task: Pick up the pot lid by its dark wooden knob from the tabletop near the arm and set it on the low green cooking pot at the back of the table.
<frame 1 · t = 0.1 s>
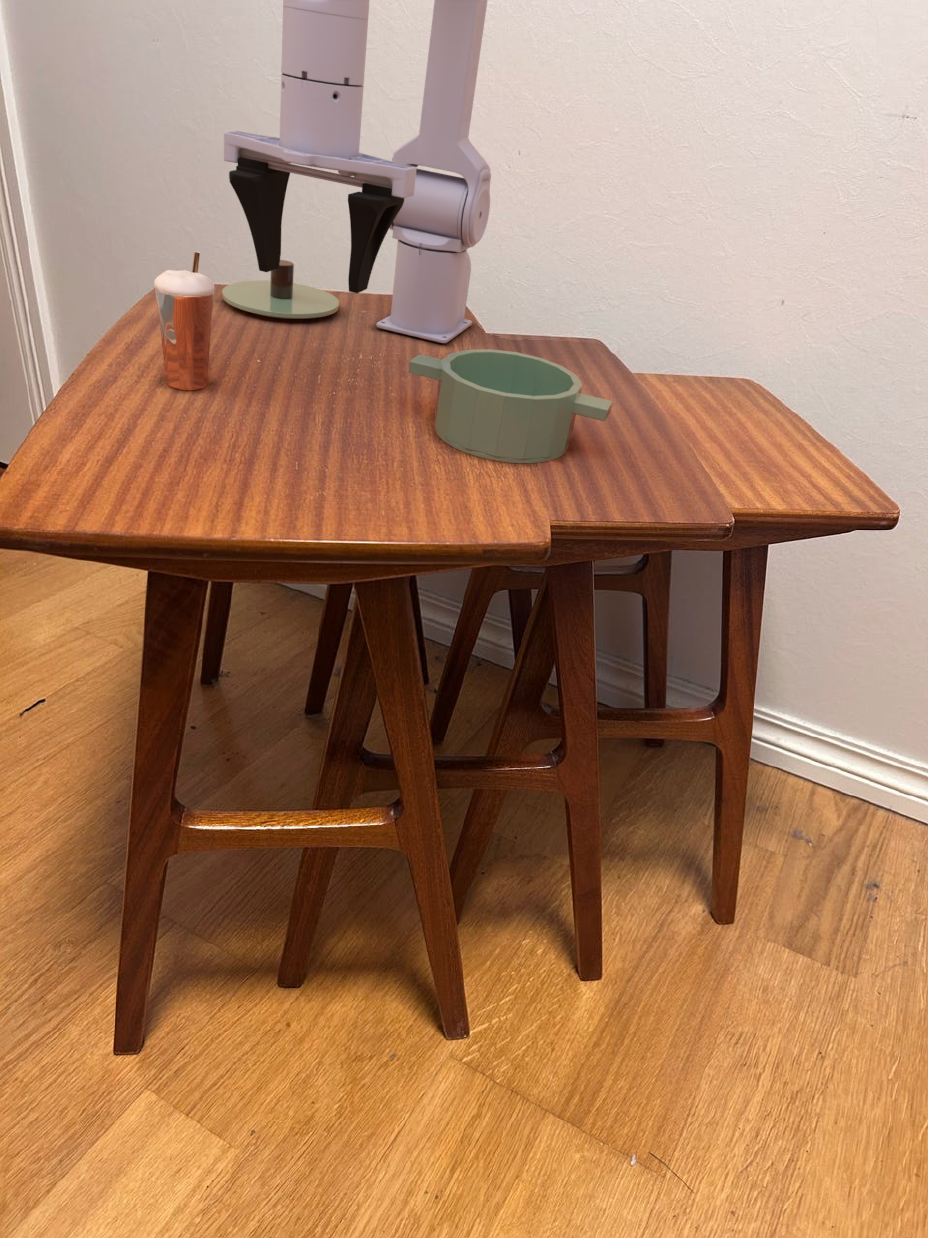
hand: (313, 279, 72), 10 cm above the table, tool pointing down, fingers open, 7 cm apart
green cooking pot: (501, 434, 77), on the table
pot lid: (281, 300, 99), point 1 cm above the table
milkshake: (188, 384, 77), on the table
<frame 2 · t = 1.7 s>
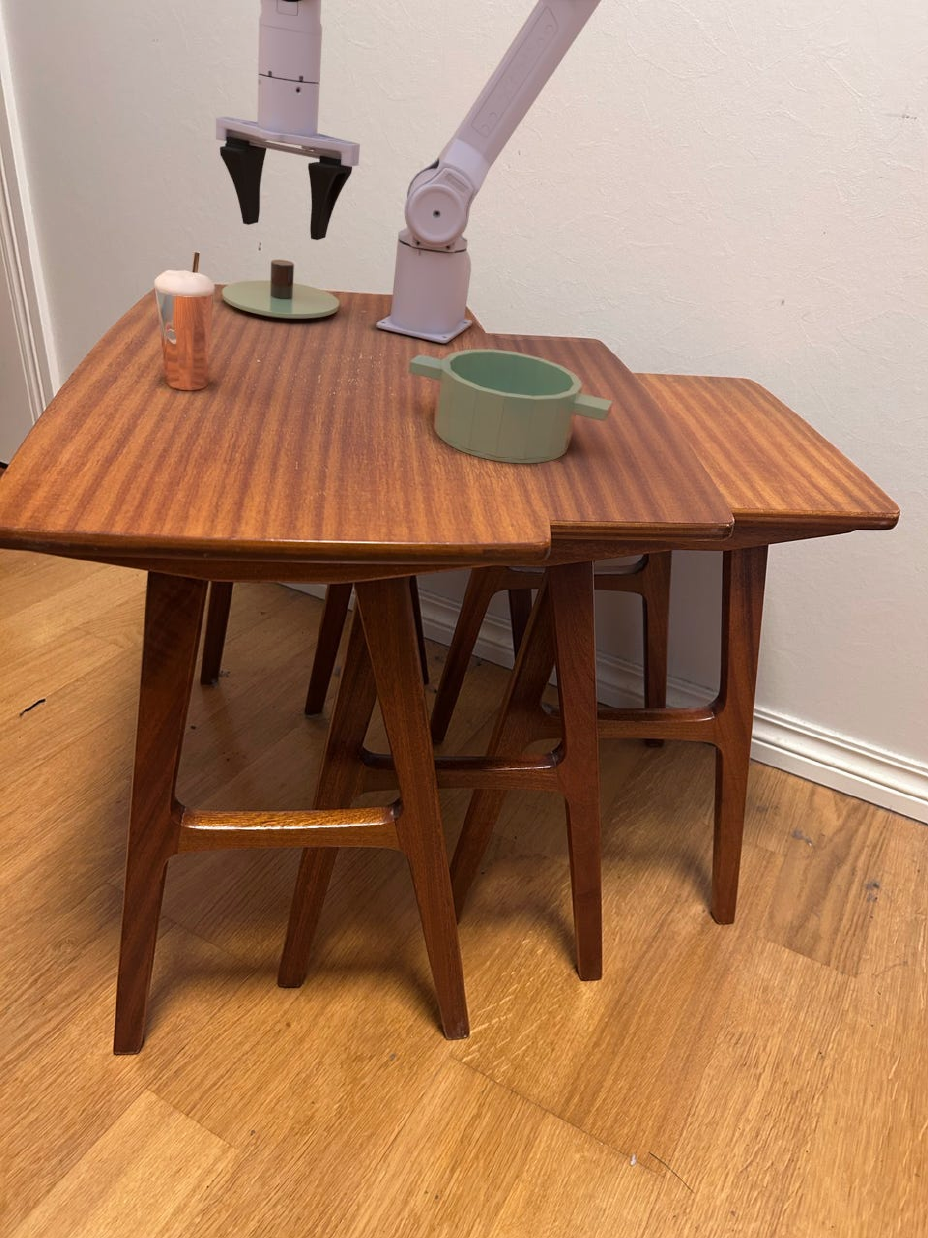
hand: (284, 230, 94), 8 cm above the table, tool pointing down, fingers open, 7 cm apart
nothing on the table moved.
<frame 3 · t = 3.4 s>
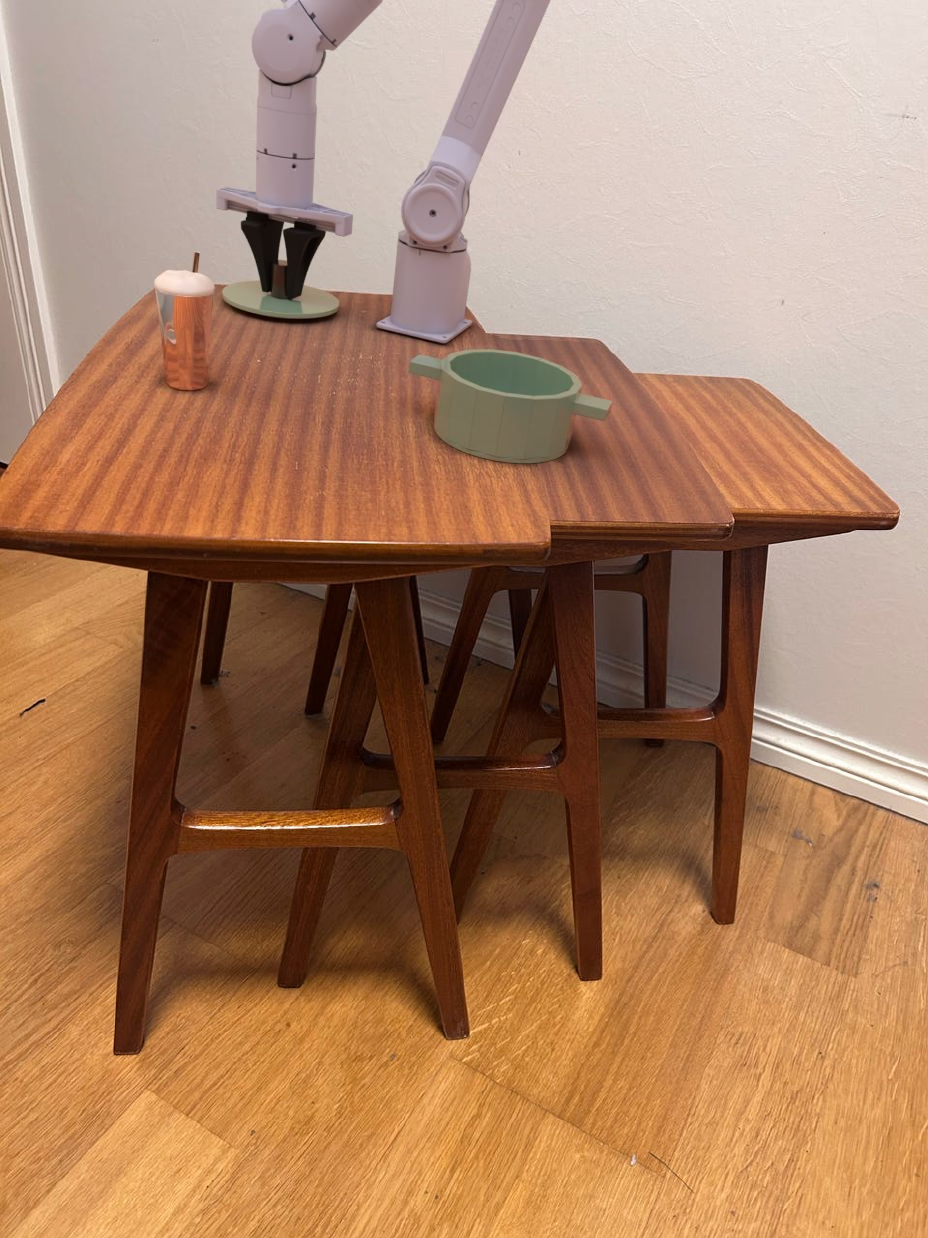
hand: (281, 293, 99), 1 cm above the table, tool pointing down, fingers closed on pot lid, 2 cm apart
pot lid: (281, 300, 99), point 1 cm above the table, touching gripper
everything else where it was.
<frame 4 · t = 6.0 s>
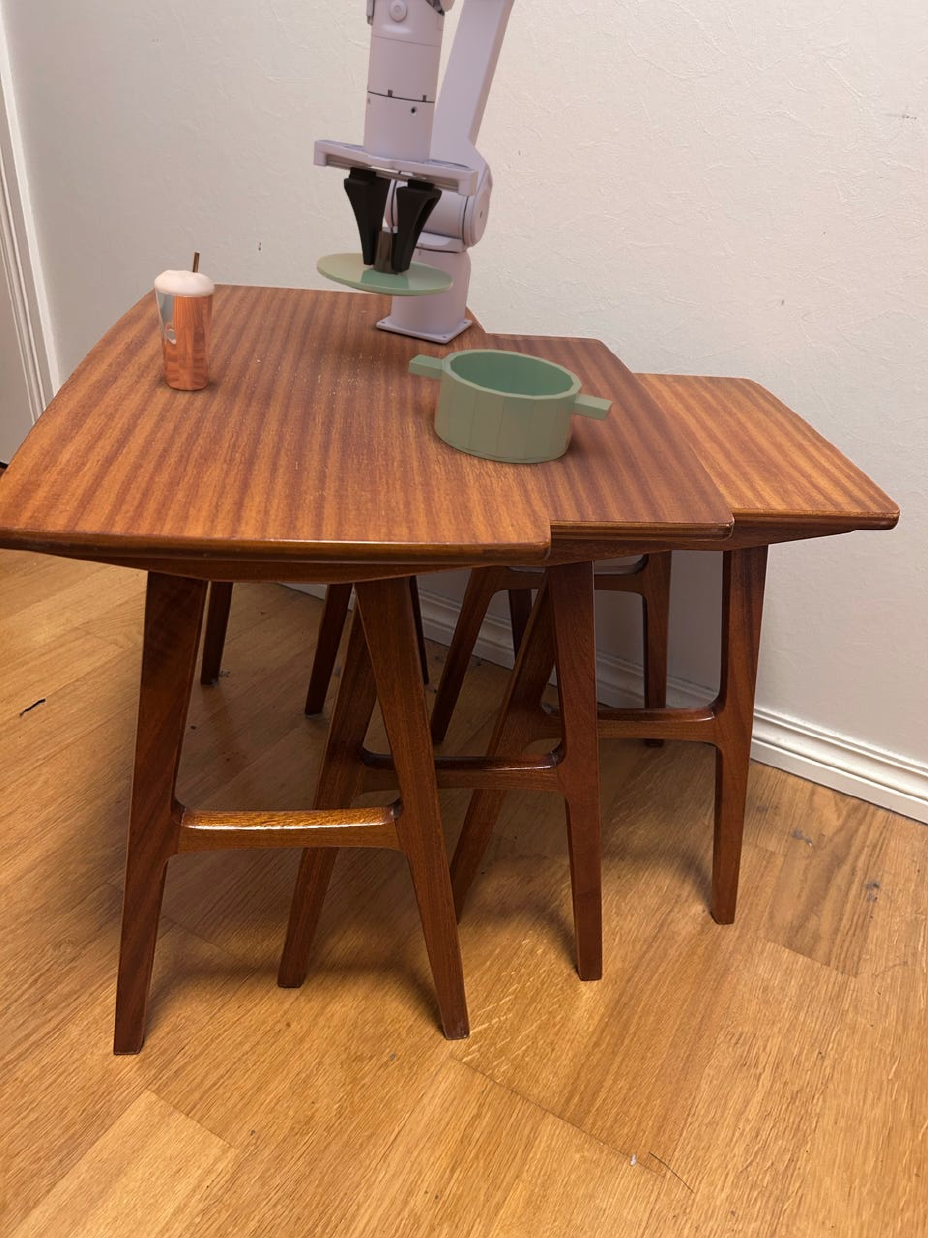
hand: (386, 266, 83), 9 cm above the table, tool pointing down, fingers closed on pot lid, 2 cm apart
pot lid: (385, 275, 84), point 8 cm above the table, touching gripper
everything else where it was.
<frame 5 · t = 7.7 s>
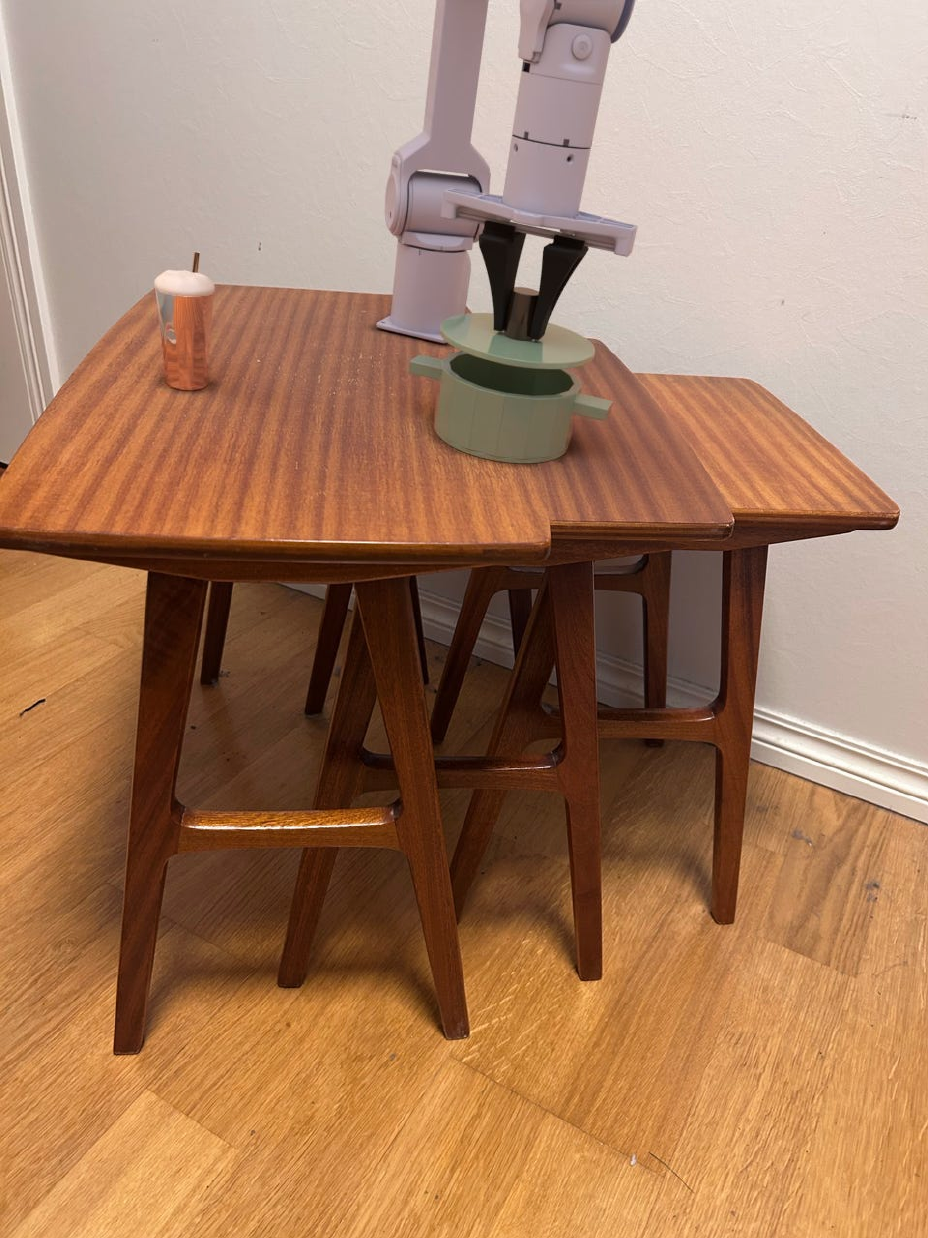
hand: (518, 332, 73), 9 cm above the table, tool pointing down, fingers closed on pot lid, 2 cm apart
pot lid: (517, 342, 73), point 8 cm above the table, touching gripper
everything else where it was.
when the fingers open (6 cm above the table, at t = 8.7 s): pot lid stays where it is, resting on green cooking pot.
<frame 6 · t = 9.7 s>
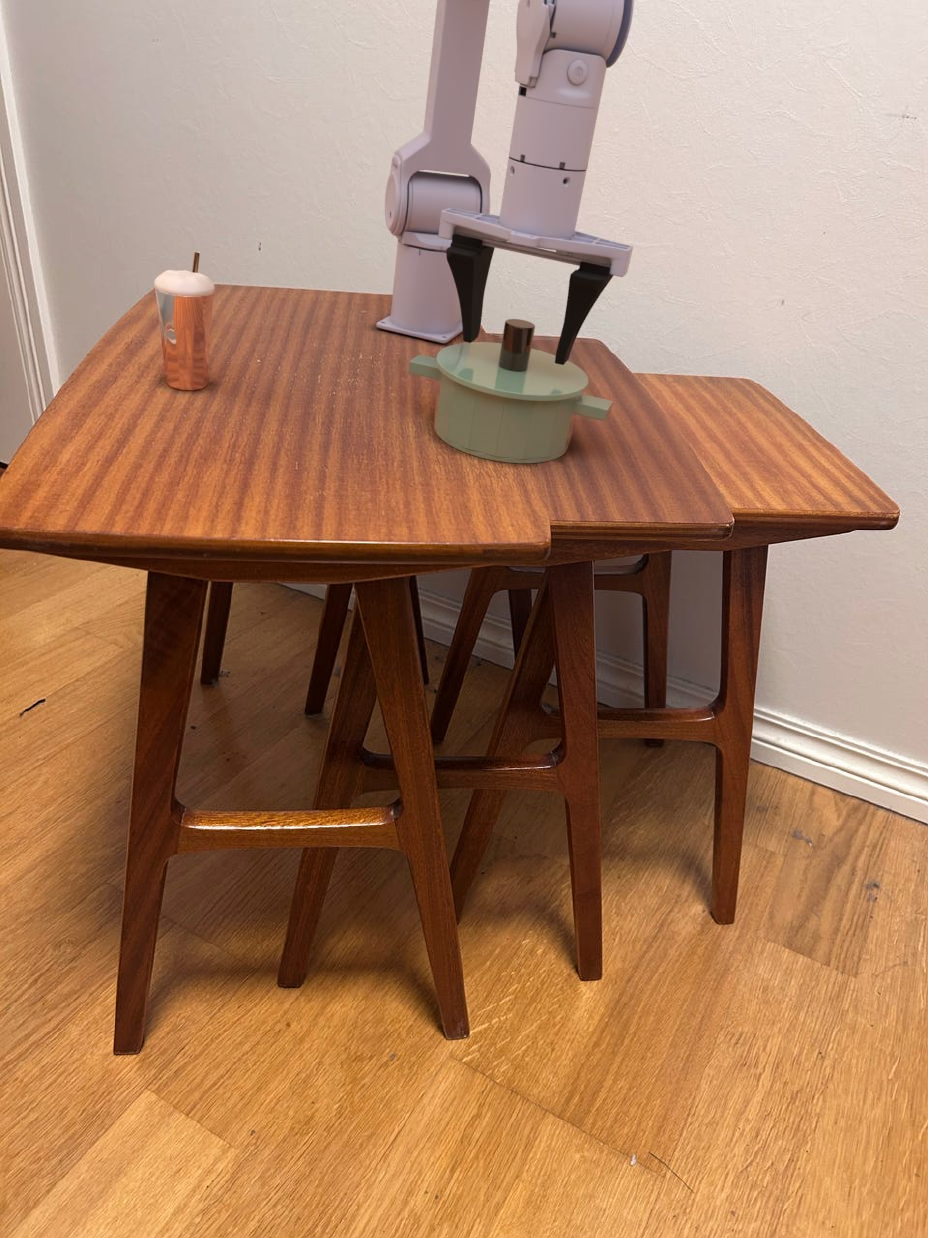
hand: (515, 350, 73), 7 cm above the table, tool pointing down, fingers open, 7 cm apart
pot lid: (511, 372, 74), point 5 cm above the table, touching green cooking pot
everything else where it was.
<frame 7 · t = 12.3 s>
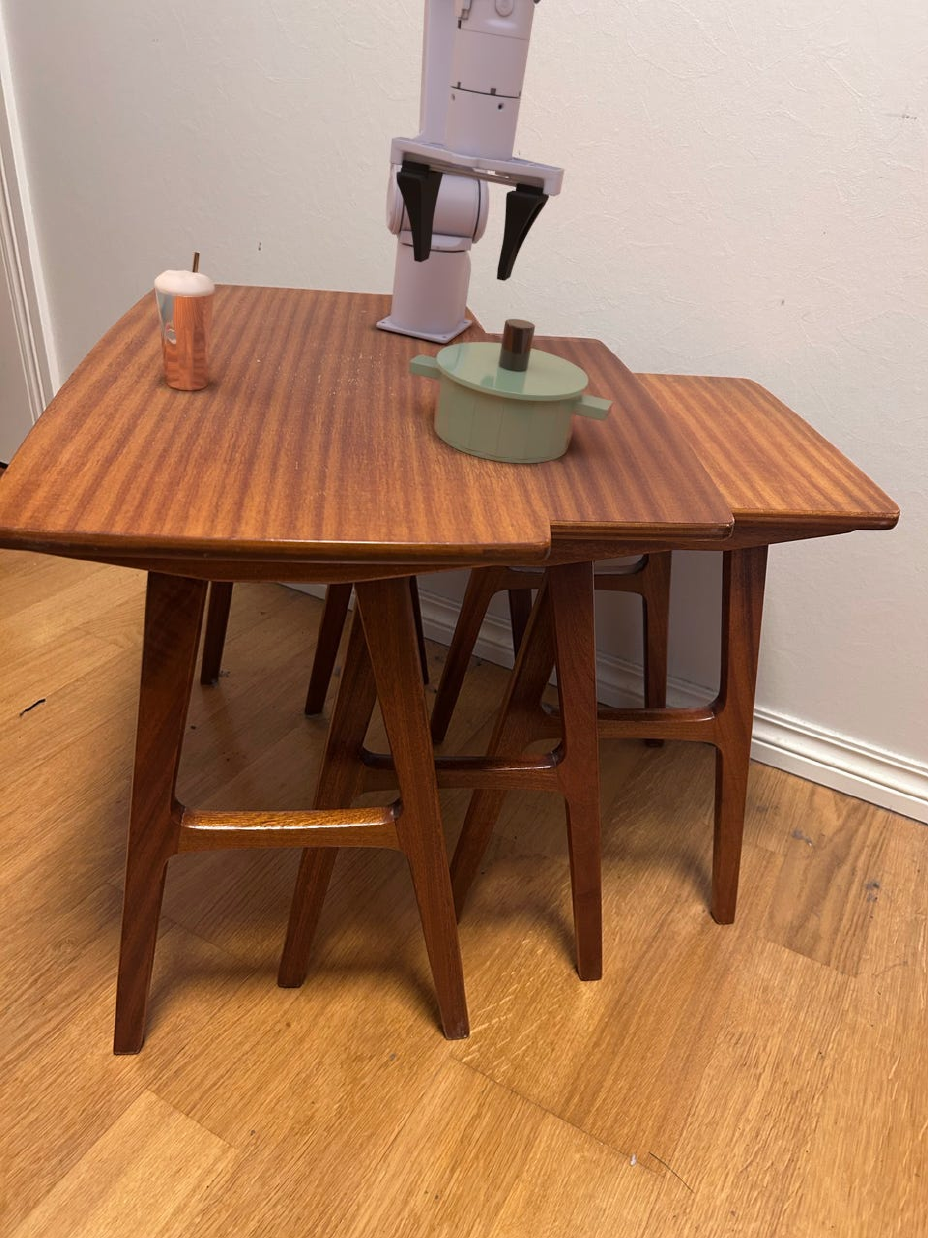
hand: (462, 268, 81), 10 cm above the table, tool pointing down, fingers open, 7 cm apart
nothing on the table moved.
at the end: pot lid 0.1 cm off-centre on the green cooking pot, point 5.4 cm above the green cooking pot's base; pot lid tilted 0°; the gripper is holding nothing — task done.
